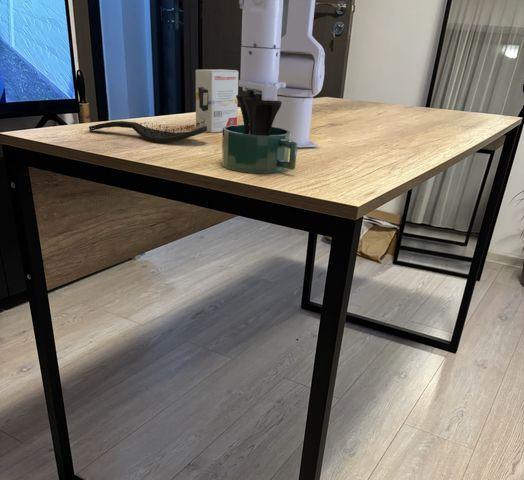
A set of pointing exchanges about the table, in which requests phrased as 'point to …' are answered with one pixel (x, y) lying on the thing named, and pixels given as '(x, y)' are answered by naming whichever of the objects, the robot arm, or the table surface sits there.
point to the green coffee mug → (258, 150)
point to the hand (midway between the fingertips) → (256, 145)
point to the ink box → (216, 99)
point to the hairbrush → (154, 131)
